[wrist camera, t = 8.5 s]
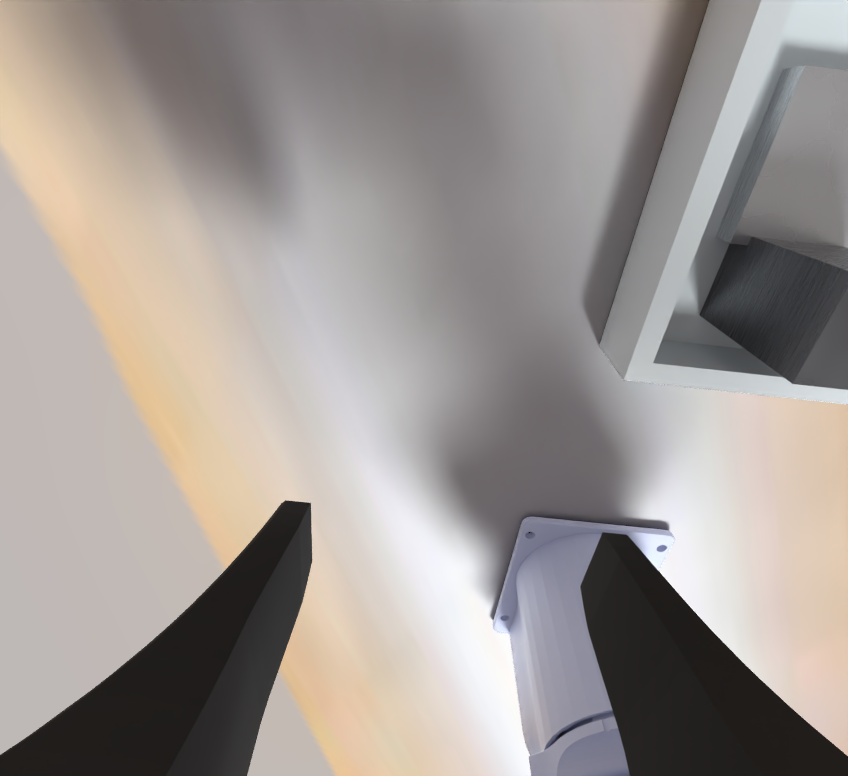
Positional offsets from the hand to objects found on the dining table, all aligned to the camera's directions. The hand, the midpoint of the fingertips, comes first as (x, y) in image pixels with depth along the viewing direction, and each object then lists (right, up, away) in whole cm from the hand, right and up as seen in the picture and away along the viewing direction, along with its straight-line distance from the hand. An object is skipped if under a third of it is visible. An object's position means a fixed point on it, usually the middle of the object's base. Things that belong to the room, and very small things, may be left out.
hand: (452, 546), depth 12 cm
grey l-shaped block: (+12, +10, +5) cm, 16 cm away
